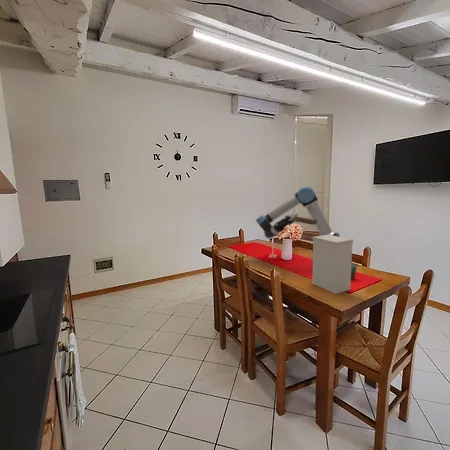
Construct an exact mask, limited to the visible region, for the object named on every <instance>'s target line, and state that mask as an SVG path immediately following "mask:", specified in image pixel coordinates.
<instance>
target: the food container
mask: <svg viewBox="0 0 450 450" xmlns="http://www.w3.org/2000/svg"><path fill="white" fill-rule="evenodd" d="M357 268H358V264H357V263H351V280H352V279H355V278H356V272H357Z"/></svg>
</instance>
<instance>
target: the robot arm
mask: <svg viewBox="0 0 450 450" xmlns="http://www.w3.org/2000/svg"><path fill="white" fill-rule="evenodd" d="M318 202H319V199H318V197H317V195H316V193H315V190H314V189H313V188H312V186H307V185H306V186H305V185H304V186H301V188H299V189H298V190H297V192H296V193H294V195H293V196H292V197H290V198H289V199H287V200H286V201H285V202H283V203H282V204H281V205H280V204H279V206H277V207H276V208H274V209H273V210H272V211H270V212H269V213H267V214H266V215H263V214H261V215H260V216H258V217H257V218H256V219H255V221H256V223H257V225H259V227H260V228H261V229H262V230H263V234H264V237H265V238H266V239H272V238H274V237H275V236H277V235H279V233H281V232H283V231H284V230H285V228H286V227H287V226H291V225H292V224H293V223H295V221H290V220H291V219H293V218H294V217H295V216H296V217H300V216H299V213H298V212H296V214H294V213H291V214H290V215H289V217H287V218H285V217H284V218H282V219H281V220H279V221H277V222H276V223H274V224H271V223H273V222H274V221H276V220H277V219H278V218H280V217H282V216H283V215H284V214H286V213H287V212H289V211H291V210H292V209H294V208H295V207H297V206H299V205H302V207H303V208H306V210H307V212H308V214H309V215H310V217H311V218H310V219H316V220H317V224H315V227H316V229H317V231H318V233H319V236H323V235H333V236H338V237H341V235H340V233H339V232H336V231H334V230H332V228H331V226H330V224H329V223H328V222H329V221H327V219H326V217H325V214H324V212H323V211H322V209H321V208H320V205H319V203H318Z"/></svg>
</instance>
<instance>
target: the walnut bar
mask: <svg viewBox="0 0 450 450" xmlns="http://www.w3.org/2000/svg"><path fill="white" fill-rule="evenodd" d="M289 216H290V215H284V218H287V217H289ZM290 221H294V223H295V222H296V223H300V224H301V223H302V224H308V225H315V224H317V220H316V219H312V218H308V217H302V216H301V217H300V216H299V217H296V216H295V217H294V218H293V219H291V220H290ZM315 226H316V225H315Z"/></svg>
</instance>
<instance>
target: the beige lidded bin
mask: <svg viewBox="0 0 450 450" xmlns="http://www.w3.org/2000/svg"><path fill="white" fill-rule="evenodd" d="M312 243H313V244H312V245H313V246H312V280H311V281H312V285H315V286H317V287H318V288H319V287H320V288H322V289H324V290H325V291H326V290H327V291H328V292H330V293H333V294H335V295H336V294H340V293H344V292H347V291H351V282H352V281H351V280H352V279H351V264H352V259H353V258H352V257H353V243H354V239H353V238H352V239H351V238H346V237H342V236H340V237H338V236H333V235H323V236H321V235H317V236H312Z"/></svg>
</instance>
